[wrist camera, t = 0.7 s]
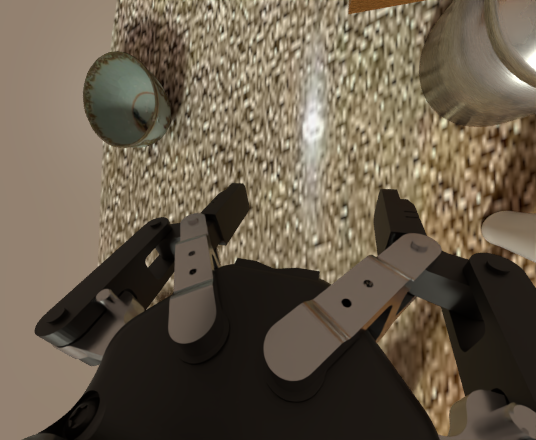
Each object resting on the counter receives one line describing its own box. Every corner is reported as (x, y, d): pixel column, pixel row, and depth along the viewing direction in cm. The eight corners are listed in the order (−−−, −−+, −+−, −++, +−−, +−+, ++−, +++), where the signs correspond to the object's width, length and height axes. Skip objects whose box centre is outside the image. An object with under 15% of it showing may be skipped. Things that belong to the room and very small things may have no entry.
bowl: (177, 163, 40) (146, 160, 32) (120, 141, 42) (77, 132, 34) (195, 89, 37) (165, 65, 29) (132, 67, 38) (87, 39, 31)
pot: (650, 49, 25) (947, -65, 13) (510, 170, 30) (637, 164, 18) (438, -106, 26) (540, -335, 14) (338, 35, 31) (354, -51, 19)
